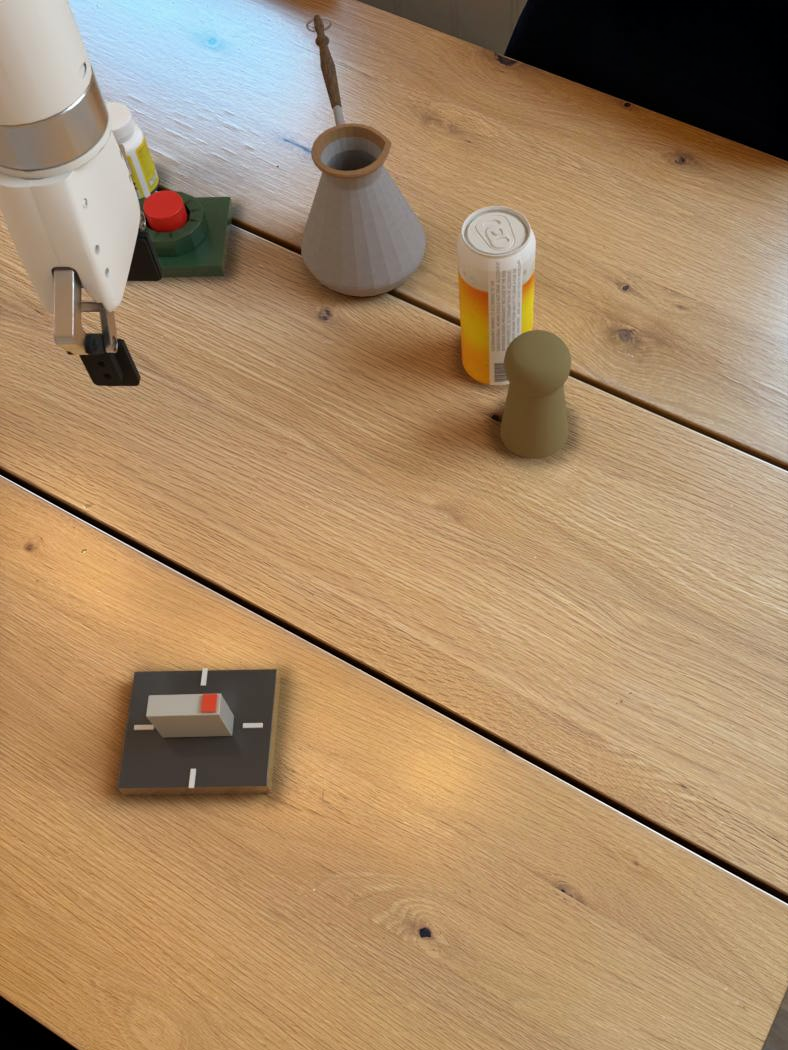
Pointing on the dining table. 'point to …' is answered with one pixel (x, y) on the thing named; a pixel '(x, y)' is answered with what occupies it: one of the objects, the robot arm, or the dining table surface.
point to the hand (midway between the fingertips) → (130, 328)
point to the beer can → (494, 288)
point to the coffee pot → (357, 205)
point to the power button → (165, 211)
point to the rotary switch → (203, 759)
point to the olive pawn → (536, 395)
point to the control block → (195, 238)
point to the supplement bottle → (134, 149)
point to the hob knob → (190, 715)
